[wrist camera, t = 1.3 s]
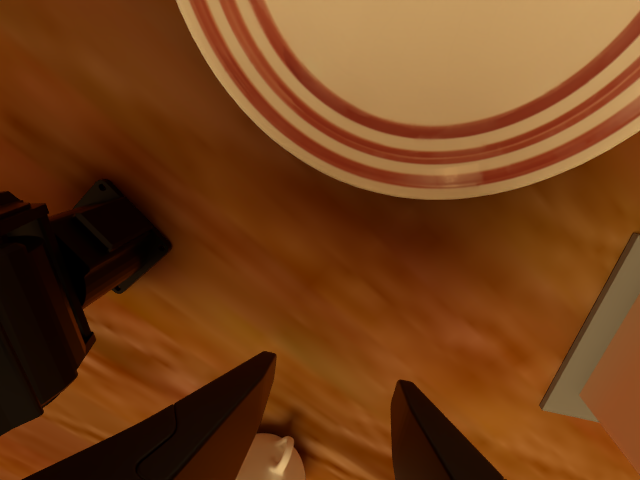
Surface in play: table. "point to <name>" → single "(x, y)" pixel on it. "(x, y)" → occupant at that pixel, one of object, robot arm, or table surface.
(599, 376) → the tile
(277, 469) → the teacup
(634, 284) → the mat
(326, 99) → the dinner plate
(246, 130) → the table surface
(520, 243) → the table surface
